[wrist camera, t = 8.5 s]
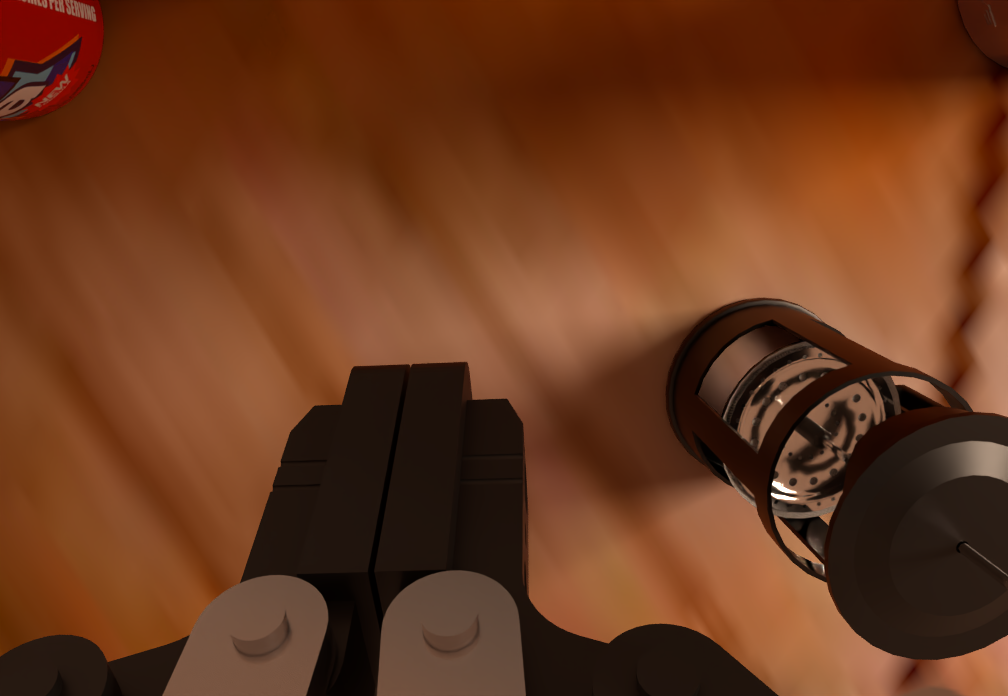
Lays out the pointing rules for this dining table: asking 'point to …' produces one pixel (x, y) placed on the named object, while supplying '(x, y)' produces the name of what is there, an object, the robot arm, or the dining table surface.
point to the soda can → (46, 53)
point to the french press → (859, 477)
